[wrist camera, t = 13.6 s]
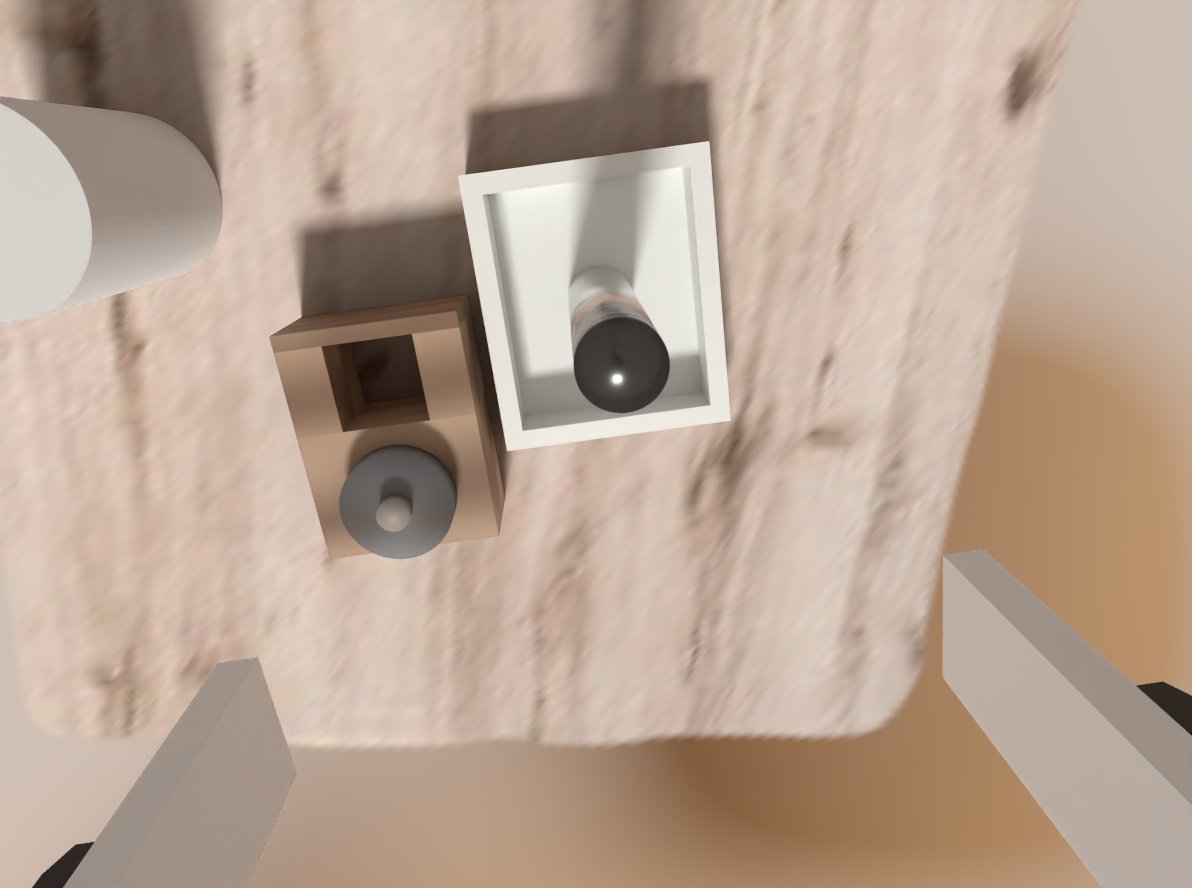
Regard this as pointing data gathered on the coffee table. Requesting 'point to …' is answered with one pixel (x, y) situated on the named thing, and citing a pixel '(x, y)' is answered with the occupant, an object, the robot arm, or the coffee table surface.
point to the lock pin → (614, 343)
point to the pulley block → (393, 431)
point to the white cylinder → (96, 205)
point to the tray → (589, 238)
